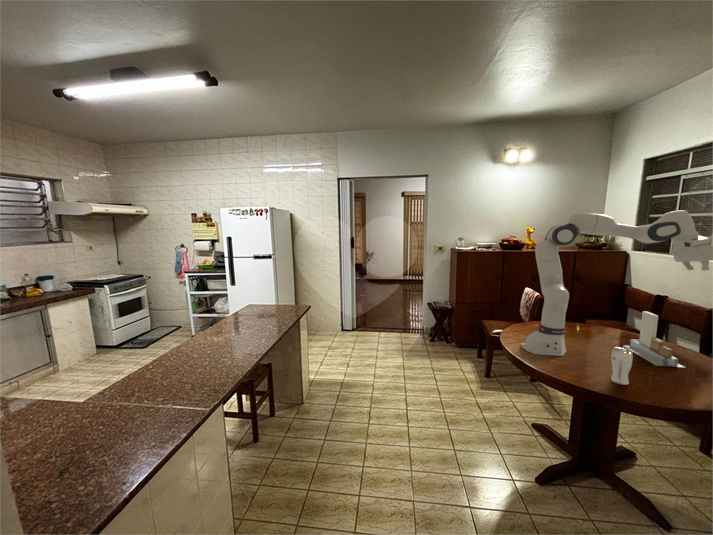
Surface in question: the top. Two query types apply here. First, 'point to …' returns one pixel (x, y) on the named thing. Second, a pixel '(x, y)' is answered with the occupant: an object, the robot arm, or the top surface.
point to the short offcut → (665, 351)
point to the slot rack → (652, 355)
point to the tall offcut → (656, 344)
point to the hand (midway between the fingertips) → (698, 270)
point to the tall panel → (648, 328)
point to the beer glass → (621, 365)
